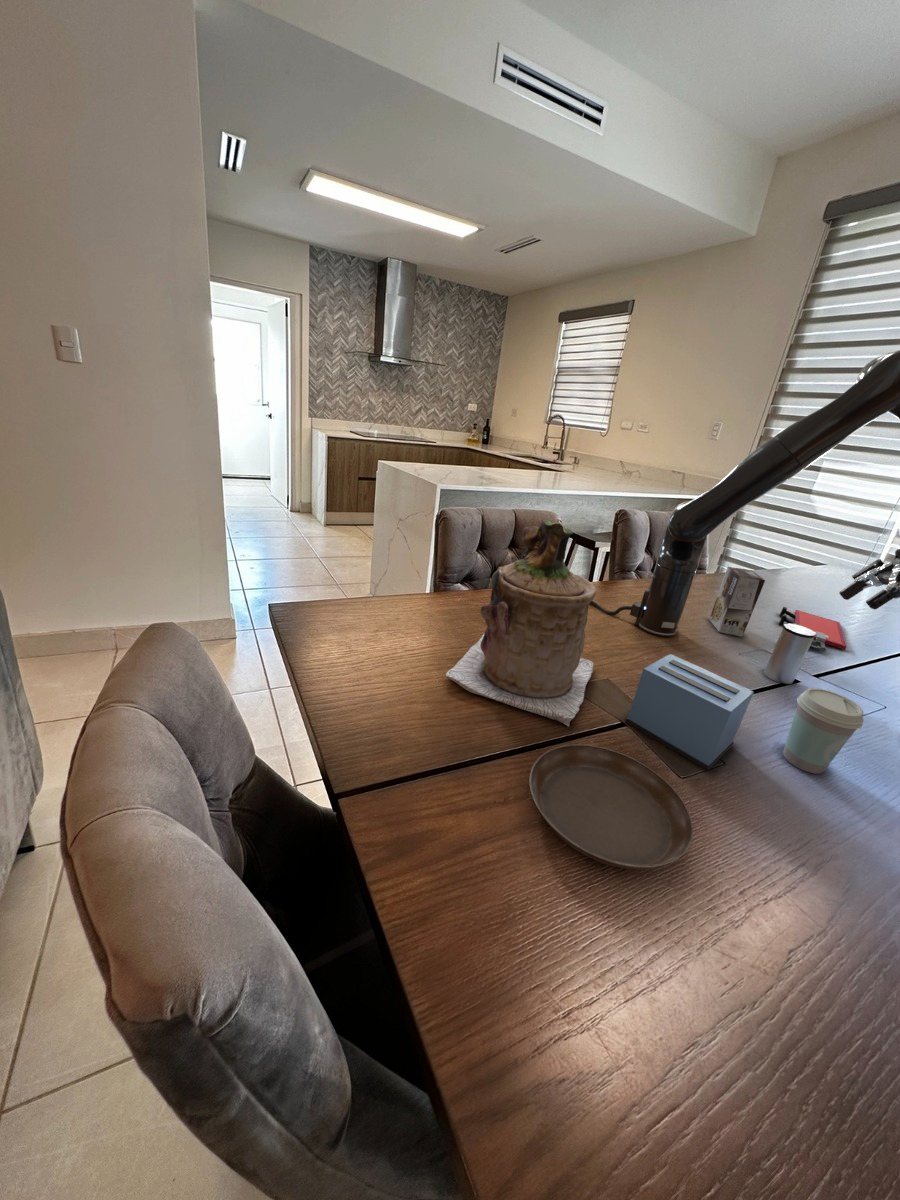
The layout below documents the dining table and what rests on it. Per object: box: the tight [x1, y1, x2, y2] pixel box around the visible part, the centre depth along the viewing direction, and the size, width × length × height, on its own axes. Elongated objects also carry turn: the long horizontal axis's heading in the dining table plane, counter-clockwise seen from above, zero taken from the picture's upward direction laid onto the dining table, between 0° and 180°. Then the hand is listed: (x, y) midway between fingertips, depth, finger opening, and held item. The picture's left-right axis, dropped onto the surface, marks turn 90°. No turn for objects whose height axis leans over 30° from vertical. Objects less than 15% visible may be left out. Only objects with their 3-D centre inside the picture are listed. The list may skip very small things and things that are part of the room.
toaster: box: [624, 653, 755, 772], centre depth 80 cm, size 14×11×11 cm
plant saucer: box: [529, 743, 694, 870], centre depth 62 cm, size 21×21×3 cm
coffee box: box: [708, 566, 766, 637], centre depth 126 cm, size 9×6×16 cm
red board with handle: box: [778, 606, 848, 651], centre depth 132 cm, size 30×3×15 cm
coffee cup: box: [782, 687, 864, 775], centre depth 76 cm, size 9×8×12 cm
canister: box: [763, 623, 816, 685], centre depth 103 cm, size 6×6×12 cm
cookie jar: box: [445, 519, 598, 727], centre depth 87 cm, size 25×25×32 cm
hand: (855, 601), depth 96 cm, fingers open, 8 cm apart
